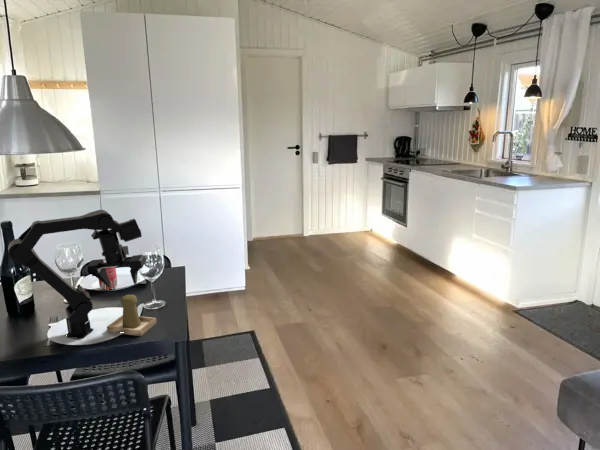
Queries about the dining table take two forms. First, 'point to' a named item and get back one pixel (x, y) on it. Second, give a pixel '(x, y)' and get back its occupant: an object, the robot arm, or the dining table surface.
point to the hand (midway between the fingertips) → (122, 285)
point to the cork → (130, 312)
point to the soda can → (112, 278)
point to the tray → (139, 331)
